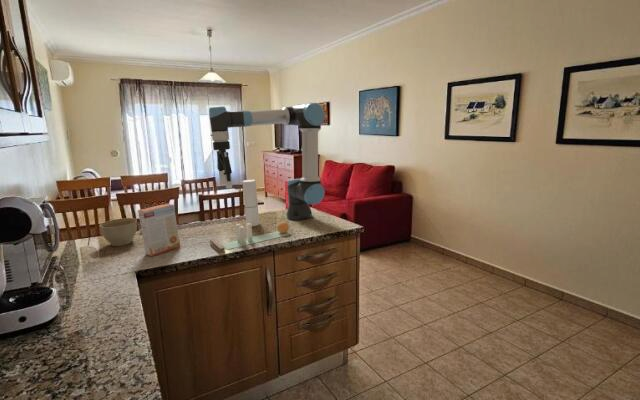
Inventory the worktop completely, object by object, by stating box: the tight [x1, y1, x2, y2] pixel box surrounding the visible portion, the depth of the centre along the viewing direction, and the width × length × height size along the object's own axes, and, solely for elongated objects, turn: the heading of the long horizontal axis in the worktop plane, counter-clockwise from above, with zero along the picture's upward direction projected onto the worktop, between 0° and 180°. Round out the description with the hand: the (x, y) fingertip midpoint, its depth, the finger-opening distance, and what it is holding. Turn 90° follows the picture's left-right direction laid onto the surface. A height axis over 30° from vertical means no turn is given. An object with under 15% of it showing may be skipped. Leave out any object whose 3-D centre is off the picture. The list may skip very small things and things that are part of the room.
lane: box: [220, 230, 293, 250], centre depth 168 cm, size 34×9×1 cm, turn 123°
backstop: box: [209, 238, 226, 254], centre depth 158 cm, size 2×16×2 cm, turn 33°
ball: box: [276, 221, 290, 234], centre depth 175 cm, size 6×6×6 cm
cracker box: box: [137, 203, 181, 257], centre depth 156 cm, size 14×6×21 cm, turn 141°
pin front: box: [245, 223, 254, 241], centre depth 165 cm, size 2×2×8 cm
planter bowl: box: [99, 217, 138, 247], centre depth 171 cm, size 16×16×11 cm
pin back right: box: [235, 223, 242, 242], centre depth 165 cm, size 2×2×8 cm
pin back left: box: [239, 225, 247, 246], centre depth 161 cm, size 2×2×8 cm
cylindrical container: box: [242, 179, 260, 227], centre depth 191 cm, size 7×7×25 cm
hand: (226, 186), depth 164 cm, fingers open, 13 cm apart
